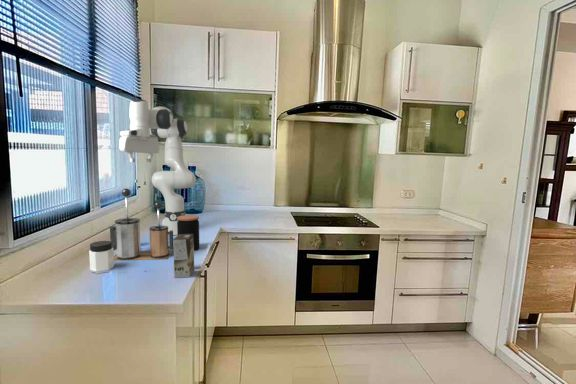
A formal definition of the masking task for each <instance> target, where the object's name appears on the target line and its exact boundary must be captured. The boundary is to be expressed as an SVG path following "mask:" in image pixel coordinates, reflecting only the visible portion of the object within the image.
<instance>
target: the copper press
mask: <svg viewBox="0 0 576 384" xmlns="http://www.w3.org/2000/svg"><path fill="white" fill-rule="evenodd" d="M148 230H149V247H150V248H149V251H150V254H151V257H152V258H163V257H167V256H168V255H169V250H174V240H173V239H174V235H173V230H170V231H169V232H168V226H162V225H160V228H158V225H153V226H150V227H149V229H148ZM168 234H169V235H168Z"/></svg>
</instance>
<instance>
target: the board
mask: <svg viewBox="0 0 576 384" xmlns="http://www.w3.org/2000/svg"><path fill="white" fill-rule="evenodd" d="M173 253H174V249H173V250H170V249H169V255H168V256H167V257H163V258H152V257H151V254H150V250H141V253H140V257H138V258H135V259H129V260H120V259H117V253H116V254H114V262H116V261H117V262H119V261H121V262H122V261H125V262H126V261H150V260H151V261H153V260H154V261H159V260H168V259H169V258H170V257H171V255H172V254H173Z"/></svg>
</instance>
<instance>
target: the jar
mask: <svg viewBox="0 0 576 384" xmlns="http://www.w3.org/2000/svg"><path fill="white" fill-rule="evenodd" d="M114 251H115V250H113V248H112V242H111V241H110V240H100V241H94V242H92V243H90V244H89V250H88V254H89V257H88V258H89V271H93V272H91V273H92V274H94V275H101V274H107V273H109V270H111V269H112V268H114V267H115V261H114V256H115V254H114Z"/></svg>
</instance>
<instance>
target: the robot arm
mask: <svg viewBox="0 0 576 384" xmlns="http://www.w3.org/2000/svg"><path fill="white" fill-rule="evenodd" d="M128 113H129V121H130V124H129V129H125V130H121V131H119V136H120V138H119V140H118V146H119V147H118V148H119V150H120V152H121V153H126V154H127V157H128V158H129V163H136V159H135V157H133V154H134V153H141V154H147V155H148V157H147V158H146V163H152V159H153V157H154V154H159V152H160V145H159V144H160V143H159V139H165V144H164V164H165V165H166V166H167V167H169V168H171V169H173V170H161V171H160V170H159V171H155V172H154V173H153V174H152V176H151V183H152V186H154V188H155V189H157V190H158V191H160V193H161V194H162V196H163V198H164V199H163V200H164V205H165V207H164V208H165V211H164V218H163V219H162V223H161V224H162V225H161V226H168V232H169V231H170V230H173V236H178V234H177V222H178V219H177V217H178V216H182V215H186V210H185V199H184V197H183V196H182V195H181V194H178V193H176V192H175V191H174V189H175V190H176V189H188V188H189V189H190V188H193V187H194V186H195V184H196V181H197V178H196V175H195V174H194V173H193V171H191V170H190V169H188V168H187V166H186V164H185V162H184V161H185V160H184V155H183V154H184V152H183V151H184V150H183V142H182V140H181V139H184V137H185V136H186V135H187V133H188V124H187V122H186V120H185V119H183V118H174V113H173V112H172V111H171V109H169V108H168V107H167V106H155V107H153V108H151V109H150V108H149V102H148V100H145V99H132V100H131V101H130V102H129V110H128ZM168 236H169V234H168Z"/></svg>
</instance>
